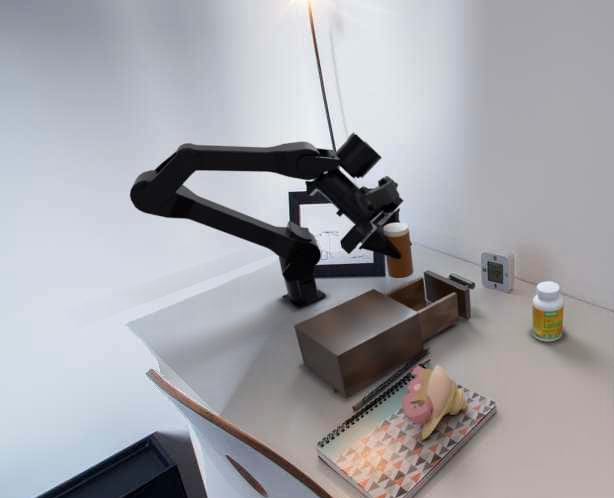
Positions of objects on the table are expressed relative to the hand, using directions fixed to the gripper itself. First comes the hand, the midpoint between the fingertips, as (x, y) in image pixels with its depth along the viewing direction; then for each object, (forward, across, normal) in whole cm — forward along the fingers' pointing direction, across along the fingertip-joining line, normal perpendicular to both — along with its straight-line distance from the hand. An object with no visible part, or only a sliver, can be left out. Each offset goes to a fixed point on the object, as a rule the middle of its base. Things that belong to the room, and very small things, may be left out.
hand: (405, 252), depth 105 cm
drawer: (+11, -10, 0) cm, 15 cm away
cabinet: (+7, -23, +6) cm, 25 cm away
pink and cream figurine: (+19, -35, -5) cm, 40 cm away
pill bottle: (+2, 0, +4) cm, 5 cm away
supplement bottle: (+28, -10, -14) cm, 33 cm away
